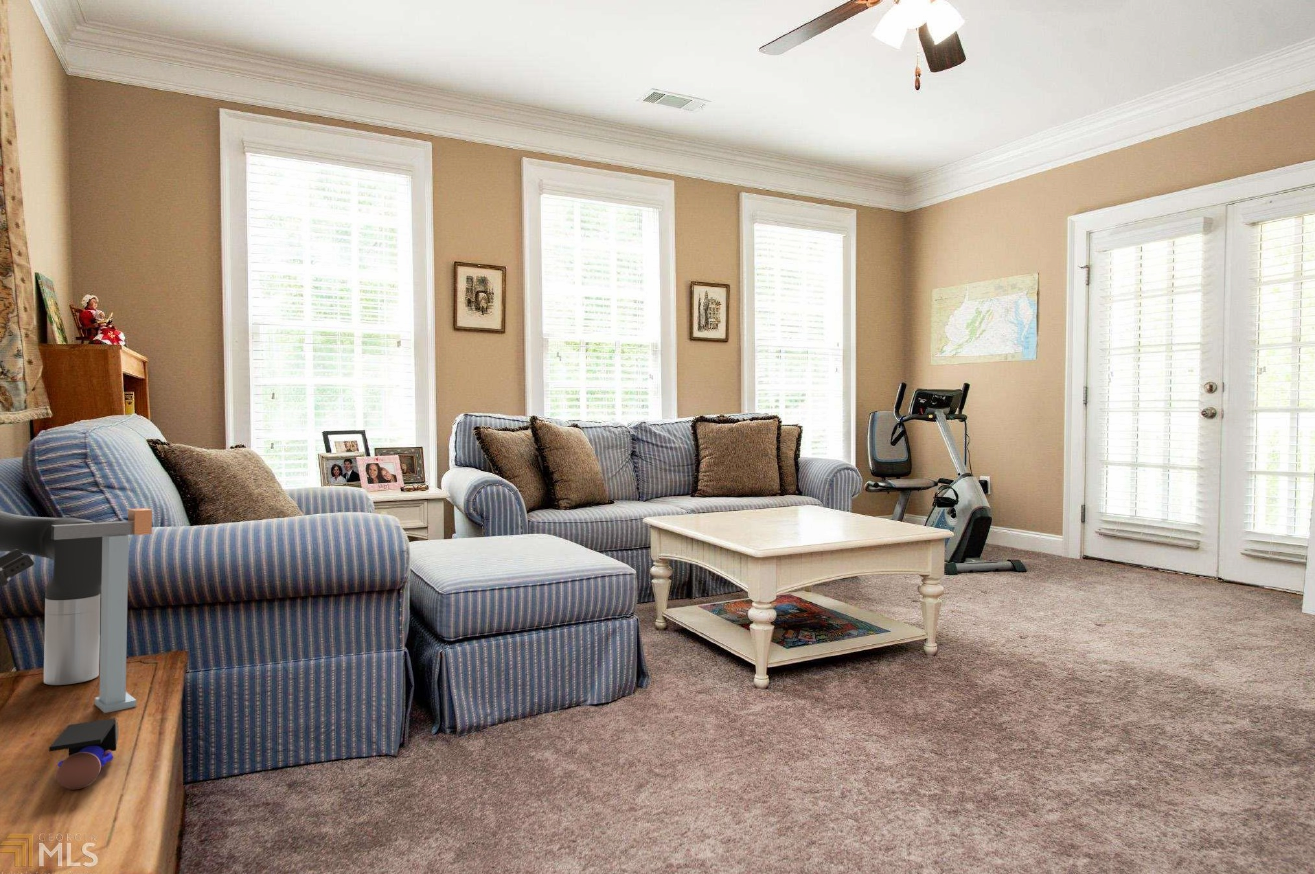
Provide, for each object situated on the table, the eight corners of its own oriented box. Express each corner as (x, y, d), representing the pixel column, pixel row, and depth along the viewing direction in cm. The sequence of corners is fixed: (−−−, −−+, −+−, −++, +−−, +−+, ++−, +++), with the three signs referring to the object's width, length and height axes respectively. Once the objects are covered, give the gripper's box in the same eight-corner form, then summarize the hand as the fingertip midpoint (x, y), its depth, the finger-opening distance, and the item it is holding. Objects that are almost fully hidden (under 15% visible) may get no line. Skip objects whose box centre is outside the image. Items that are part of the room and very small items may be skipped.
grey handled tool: (49, 538, 142) (50, 512, 142) (144, 531, 153) (144, 508, 153) (55, 540, 139) (55, 514, 139) (151, 534, 150) (152, 509, 150)
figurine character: (68, 769, 123) (44, 798, 109) (70, 718, 123) (47, 740, 110) (120, 762, 126) (103, 789, 112) (122, 712, 127) (105, 733, 113)
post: (94, 704, 148) (97, 534, 148) (125, 697, 152) (128, 532, 152) (104, 713, 143) (107, 537, 144) (136, 706, 147) (139, 535, 147)
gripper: (-96, 603, 121) (20, 542, 132) (-104, 590, 131) (5, 534, 141) (-64, 640, 124) (48, 578, 134) (-74, 625, 134) (31, 568, 144)
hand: (26, 555), depth 138 cm, fingers open, 8 cm apart
